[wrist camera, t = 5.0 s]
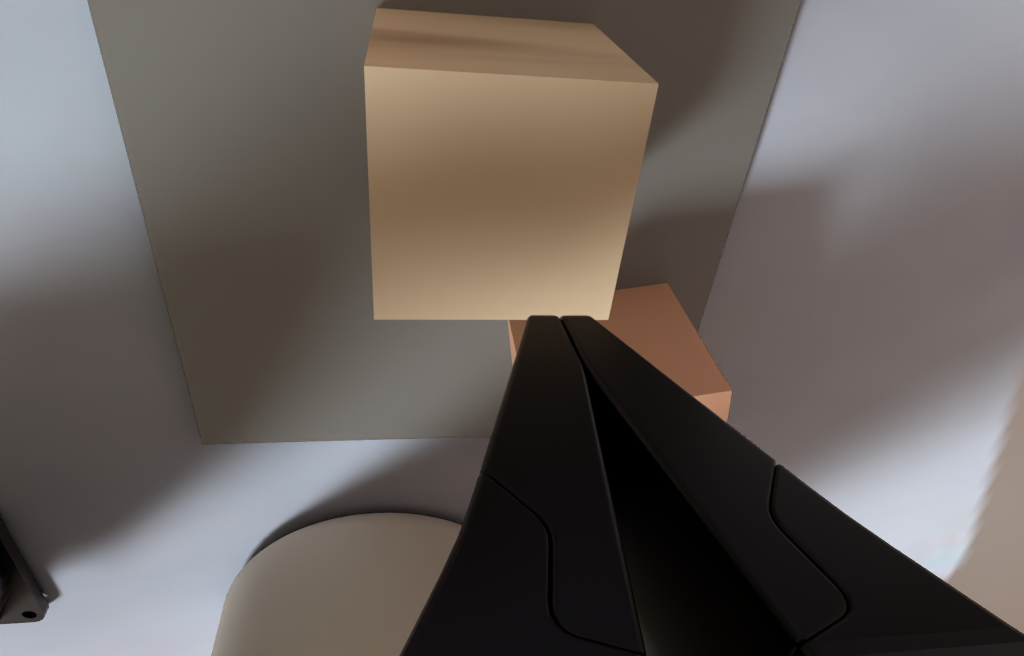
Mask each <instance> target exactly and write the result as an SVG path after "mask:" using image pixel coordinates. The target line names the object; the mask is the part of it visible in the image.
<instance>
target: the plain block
mask: <svg viewBox="0 0 1024 656" xmlns="http://www.w3.org/2000/svg"><path fill="white" fill-rule="evenodd" d="M364 79H365V104H366V130H367V155H368V181H369V206H370V231H371V257H372V282H373V307H374V320H527V319H528V317H529V316H531V315H555V316H557V317H559V319H560V317H562V316H564V315H587V316H590V317H592V318H594V319H595V320H608V319H609V314H610V310H611V305H612V300H613V296H614V291H615V286H616V282H617V277H618V272H619V268H620V263H621V258H622V254H623V249H624V244H625V240H626V235H627V230H628V225H629V221H630V216H631V211H632V207H633V202H634V197H635V193H636V188H637V183H638V179H639V174H640V169H641V165H642V160H643V155H644V151H645V146H646V141H647V137H648V132H649V127H650V123H651V118H652V113H653V109H654V104H655V99H656V95H657V90H658V85H659V84H658V83H657V82H656V81H655V80H654V79H653V78H652V77H651V76H650V75H649V74H648V73H646V72H645V71H644V70H643V69H642V68H641V67H640V66H639V65H638V64H637V63H635V62H634V61H633V60H632V59H631V58H630V57H629V56H628V55H627V54H626V53H625V52H623V51H622V50H621V49H620V48H619V47H618V46H617V45H616V44H615V43H614V42H613V41H611V40H610V39H609V38H608V37H607V36H606V35H605V34H604V33H603V32H602V31H601V30H599V29H598V28H597V27H596V26H595V25H594V24H587V23H574V22H560V21H547V20H533V19H520V18H507V17H493V16H480V15H466V14H453V13H439V12H426V11H412V10H399V9H386V8H376V13H375V17H374V22H373V27H372V31H371V36H370V41H369V45H368V50H367V54H366V59H365V64H364Z"/></svg>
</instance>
